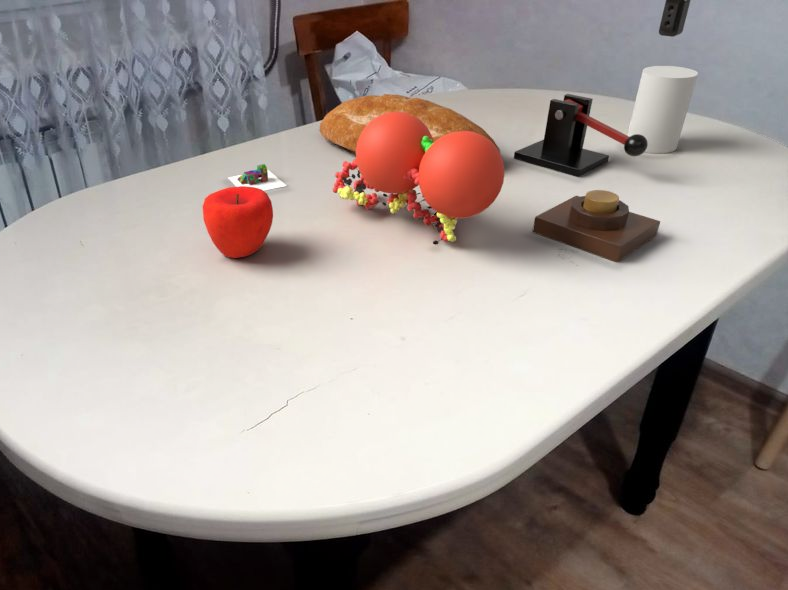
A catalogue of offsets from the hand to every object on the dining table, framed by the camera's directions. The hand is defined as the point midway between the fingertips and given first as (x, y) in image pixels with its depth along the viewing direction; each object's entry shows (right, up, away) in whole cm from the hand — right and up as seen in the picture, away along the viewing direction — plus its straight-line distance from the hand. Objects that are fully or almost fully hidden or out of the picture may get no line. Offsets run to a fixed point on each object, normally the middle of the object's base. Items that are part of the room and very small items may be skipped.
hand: (669, 34), depth 78 cm
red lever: (+2, -4, +24) cm, 25 cm away
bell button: (-6, -19, +6) cm, 21 cm away
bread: (-27, -3, +37) cm, 46 cm away
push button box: (-6, -22, +8) cm, 24 cm away
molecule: (-30, -21, +12) cm, 38 cm away
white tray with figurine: (-52, -11, +27) cm, 59 cm away
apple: (-52, -25, +7) cm, 58 cm away
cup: (+15, -2, +35) cm, 39 cm away
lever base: (-2, -6, +31) cm, 31 cm away
